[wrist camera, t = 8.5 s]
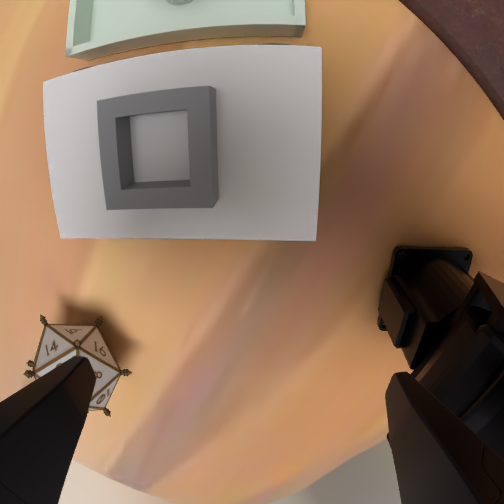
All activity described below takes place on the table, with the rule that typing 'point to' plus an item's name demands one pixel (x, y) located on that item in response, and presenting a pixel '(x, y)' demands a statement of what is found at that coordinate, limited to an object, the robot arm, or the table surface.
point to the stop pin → (179, 2)
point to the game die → (84, 344)
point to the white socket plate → (188, 145)
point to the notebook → (470, 38)
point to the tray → (174, 23)
